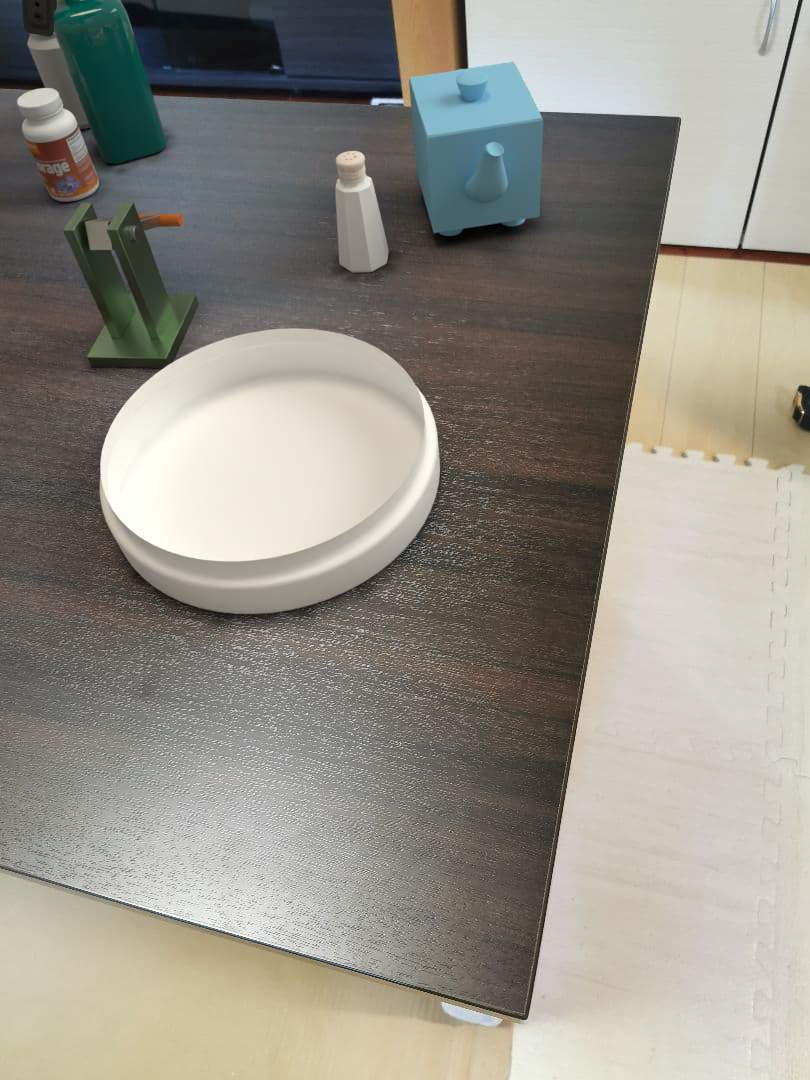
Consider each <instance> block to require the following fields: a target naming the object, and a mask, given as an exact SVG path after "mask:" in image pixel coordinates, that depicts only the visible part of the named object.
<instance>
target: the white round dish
mask: <svg viewBox="0 0 810 1080" xmlns="http://www.w3.org/2000/svg"><path fill="white" fill-rule="evenodd" d="M438 437H439V436H438V429H437V424H436V420H435V417H434V415H433V412H432V409H431V406H430V405H429V402H428V401H427V400H426V397H425V395H424V394H423V393H422V392H421V389H419V387H418V386H417V385H416V383H415V382H414V380H413V379H412V377H411V376H410V375H409V373H408V372H407V371H406V369H404V367H403V366H401V364H400V363H399V362H398V361H396V360H395V359H394V358H393V357H392V356H390V355H389V354H387V353H386V352H384V351H383V350H381V349H380V348H378V347H376V346H374V345H372V344H370V343H368V342H367V341H364V340H362V339H359V338H356V337H353V336H350V335H346V334H343V333H340V332H333V331H330V330H321V329H316V328H315V329H314V328H300V327H299V328H298V327H297V328H296V327H295V328H274V329H264V330H259V331H252V332H248V333H242V334H238V335H234V336H231V337H228V338H224V339H221V340H218V341H215V342H212V343H210V344H207V345H205V346H202V347H199V348H197V349H195V350H193V351H191V352H189V353H187V354H185V355H183V356H181V357H179V358H178V359H176V360H173V362H172V363H171V364H169V365H168V366H166V367H165V368H161V369H160V370H159V371H157V372H156V373H155V374H153V375H152V376H151V377H150V378H149V379H148V380H146V381H145V382H144V383H143V384H142V385H141V386H140V387H139V388H138V389H137V390H135V392H134V393H133V394H132V395H131V396H130V397H129V398H128V399H127V401H125V403H124V404H123V405H122V407H121V408H120V410H119V411H118V412H117V414H116V416H115V417H114V419H113V421H112V423H111V425H110V427H109V429H108V431H107V433H106V436H105V438H104V443H103V446H102V449H101V454H100V455H101V456H100V460H99V461H100V472H99V473H100V477H99V499H100V505H101V510H102V514H103V516H104V519H105V522H106V524H107V527H108V529H109V530H110V533H111V534H112V536H113V538H114V540H115V541H116V543H117V545H118V547H119V548H120V550H121V552H122V554H123V555H124V557H125V558H126V560H127V561H128V563H129V564H130V566H131V567H132V568H133V569H134V570H135V571H136V572H137V574H139V575H140V577H141V578H143V580H144V581H146V582H147V583H149V584H150V585H151V586H152V587H154V588H155V589H156V590H157V591H160V592H161V593H163V594H165V595H166V596H168V597H170V598H172V599H174V600H177V601H179V602H181V603H183V604H186V605H189V606H192V607H196V608H198V609H203V610H207V611H211V612H215V613H216V612H217V613H225V614H232V615H233V614H234V615H259V614H260V615H261V614H274V613H280V612H287V611H293V610H297V609H300V608H305V607H309V606H312V605H315V604H318V603H322V602H325V601H327V600H330V599H332V598H334V597H337V596H339V595H341V594H344V593H346V592H348V591H350V590H352V589H354V588H355V587H358V586H360V585H361V584H364V583H365V582H366V581H368V580H369V579H371V578H372V577H374V576H375V575H377V574H378V573H380V572H381V571H382V570H383V569H385V568H386V567H387V566H388V565H390V564H391V563H392V562H393V561H395V560H396V558H398V557H399V556H400V555H401V554H402V553H403V552H404V551H405V550H406V549H407V548H408V546H409V545H410V544H411V543H412V541H413V540H414V539H415V538H416V536H417V535H418V534H419V532H420V531H421V529H422V527H423V526H424V525H425V523H426V522H427V519H428V518H429V515H430V513H431V511H432V508H433V505H434V503H435V500H436V498H437V494H438V488H439V485H440V474H441V463H440V462H441V461H440V449H439V439H438Z"/></svg>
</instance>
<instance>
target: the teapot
mask: <svg viewBox="0 0 810 1080" xmlns="http://www.w3.org/2000/svg"><path fill="white" fill-rule="evenodd" d="M408 85H409V100H410V110H411V111H410V112H411V122H412V134H413V146H414V160H415V170H416V174H417V178H418V182H419V186H420V189H421V193H422V196H423V201H424V204H425V208H426V211H427V215H428V218H429V221H430V225H431V229H432V233H433V234H436V233H437V234H439V235H442V236H447V237H452V236H457V235H459V234H461V233H462V232H463V230H464V229H469V228H475V227H476V228H477V227H483V226H489V225H495V224H502V225H504V226H506V227H516V226H520V225H522V224H523V223H524V222H525V221H526V220H527V219H535V218H539V217H540V216H541V193H542V192H541V191H542V167H543V166H542V165H543V142H544V141H543V140H544V139H543V138H544V137H543V136H544V118H543V116H542V114H541V113H540V109H538V106H537V104H536V102H535V100H534V98H533V96H532V94H531V91H530V90H529V87H528V86H527V84H526V82H525V80H524V78H523V77H522V74H521V72H520V71H519V68H518V67H517V65H516V63H515V62H514V61H509V62H503V63H496V64H488V65H483V66H482V65H481V66H475V67H468V68H458V69H456V70H449V71H443V72H436V73H429V74H424V75H423V74H422V75H418V76H410V77H409V78H408Z"/></svg>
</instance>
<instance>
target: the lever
mask: <svg viewBox="0 0 810 1080" xmlns="http://www.w3.org/2000/svg"><path fill="white" fill-rule="evenodd" d="M138 216H139V218H140V221H141V224H142V227H143V229H144V232H145V231H148V230H152V229H155V228H159V227H161V228H163V227H167V228H168V227H183V225H184V217H183V215H182V213H138ZM113 218H114V217H102V218H101V217H100V218H98V219H95V220H91V221H86V222H85V226H86V232H87V237H88V242H89V248H90V250H91V251H93V250H111V251H115V250H114V248H113V245H112V243H111V240H110V238H109V235H108V233H107V230H106V229H107V228H108V226H109V224H110V223H111V221H112V219H113Z"/></svg>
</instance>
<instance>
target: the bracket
mask: <svg viewBox="0 0 810 1080" xmlns="http://www.w3.org/2000/svg"><path fill="white" fill-rule="evenodd" d="M138 214H139V213H138V210H137V207H136V205H135V202H134V201H123V202H122V203H121V204H120V207H118V210H117V211H116V213H115V214H114V216H113V217H112V218H113V219H112V221H111V223H110V224H109V226H108V228H107V229H106V230H107V233H108V235H109V238H110V240H111V243H112V245H113V248H114V250H113V251H114V252H115V255H116V257H117V260H118V262H119V265H120V267H121V271H122V272H123V275H124V277H125V280H126V282H127V284H128V287H129V289H130V293H129V291H128V289H127V286H126V284H125V282H124V279H123V277H122V274H121V272H120V269H119V267H118V265H117V262H116V259H115V256H114V255H113V252H112V250H93V251H91V250H90V248H89V242H88V237H87V232H86V226H85V222H86V221H91V220H95V219H99V218H98V215H97V212H96V211H95V208H94V206H93V203H92V202H80V204H79V206H78V207H77V209H75V212H74V213H73V215H71V218H70V219H69V220H68V222H67V223H66V225H65V226H64V227H63V229H62V230H63V234H64V235H65V238H66V240H67V242H68V244H69V247H70V249H71V251H72V253H73V256H74V258H75V260H76V263H77V265H78V267H79V268H80V271H81V274H82V275H83V279H84V280H85V282H86V285H87V287H88V289H89V292H90V294H91V295H92V298H93V300H94V302H95V304H96V307H97V309H98V312H99V314H100V316H101V318H102V320H103V322H104V325H103V327H102V329H101V330H100V332H99V334H98V336H97V338H96V339H95V341H94V343H93V345H92V347H91V349H90V350H89V352H88V354H87V356H86V358H87V360H88V362H89V364H90V367H92V368H93V367H94V368H145V369H146V368H151V369H152V368H153V369H163V368H165V367H166V366H168V365H169V364H171V363H173V362H174V361H175V360H174V359H175V358H176V355H177V353H178V350H179V348H180V346H181V344H182V342H183V340H184V338H185V335H186V333H187V331H188V329H189V326H190V324H191V322H192V320H193V318H194V315H195V313H196V311H197V309H198V306H199V305H200V303H199V299H198V297H197V294H196V293H168V292H167V290H166V287H165V284H164V281H163V278H162V276H161V273H160V271H159V267H158V265H157V263H156V259H155V257H154V254H153V251H152V249H151V248H152V247H151V246H150V243H149V241H148V238H147V235H146V232H145V231H144V229H143V227H142V224H141V221H140V218H139V216H138Z"/></svg>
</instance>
